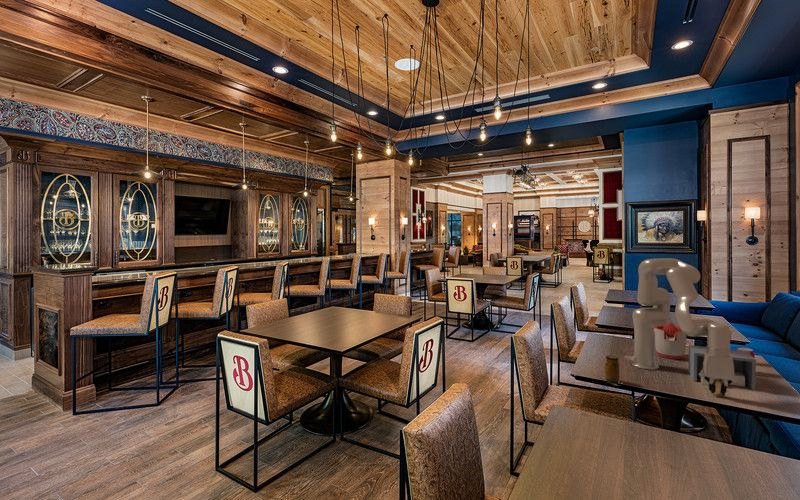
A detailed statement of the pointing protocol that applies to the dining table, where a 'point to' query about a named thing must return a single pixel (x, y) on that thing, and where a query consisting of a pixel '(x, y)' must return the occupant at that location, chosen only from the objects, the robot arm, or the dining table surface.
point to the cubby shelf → (740, 360)
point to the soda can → (747, 351)
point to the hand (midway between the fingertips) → (717, 392)
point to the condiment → (612, 369)
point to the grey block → (739, 379)
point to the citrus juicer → (670, 341)
